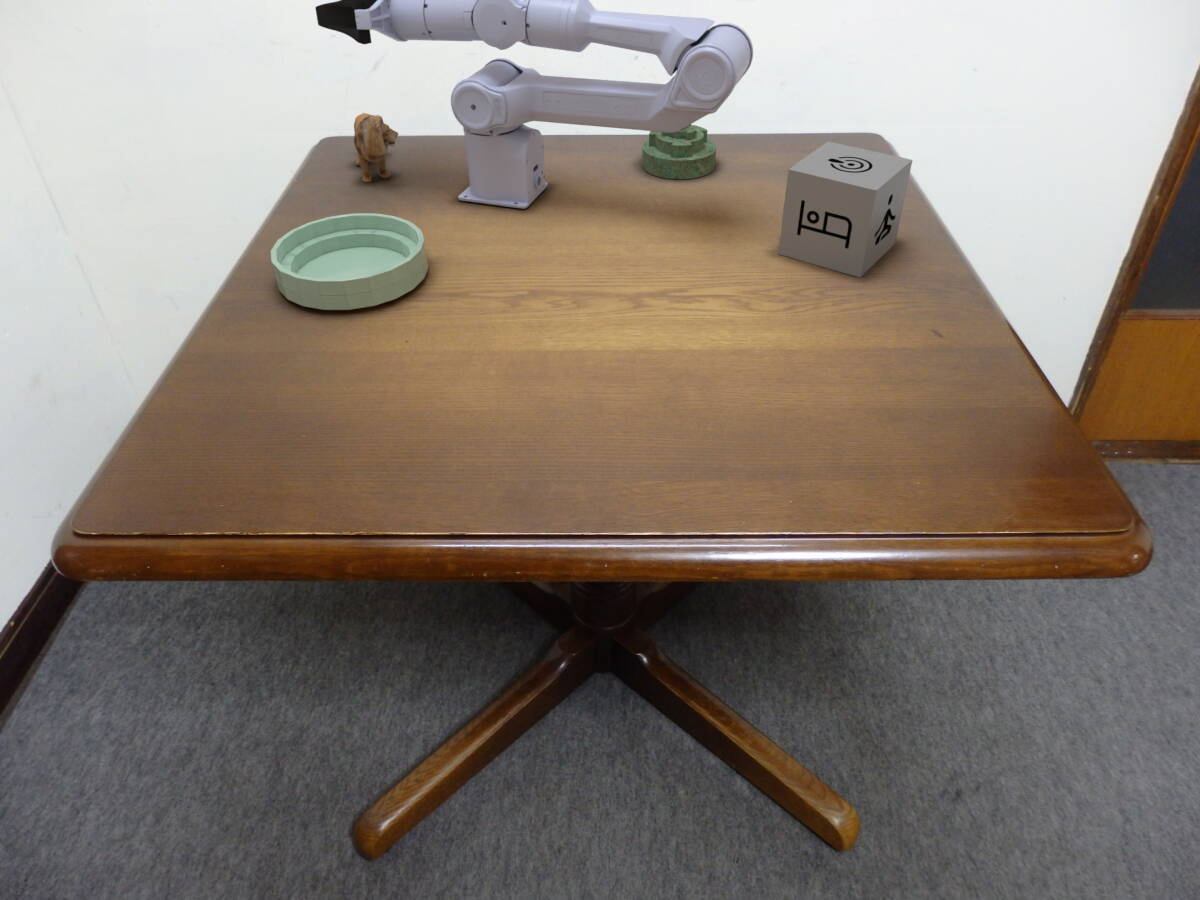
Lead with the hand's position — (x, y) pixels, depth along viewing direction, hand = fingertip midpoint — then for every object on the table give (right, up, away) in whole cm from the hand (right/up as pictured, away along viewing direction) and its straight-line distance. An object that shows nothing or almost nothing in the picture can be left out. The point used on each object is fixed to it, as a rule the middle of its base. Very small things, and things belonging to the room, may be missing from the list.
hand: (336, 12), depth 111 cm
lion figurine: (+2, -15, +14) cm, 21 cm away
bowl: (+5, -34, -10) cm, 36 cm away
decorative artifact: (+43, -14, +14) cm, 48 cm away
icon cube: (+60, -30, -6) cm, 67 cm away
